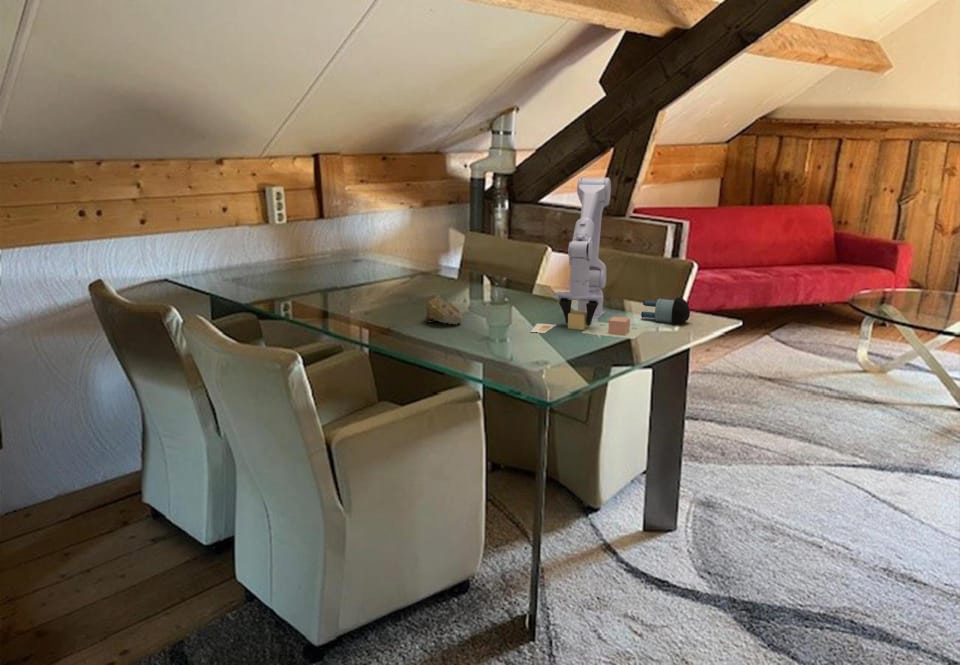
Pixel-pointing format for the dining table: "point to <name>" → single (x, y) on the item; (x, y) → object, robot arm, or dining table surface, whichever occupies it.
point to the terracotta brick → (619, 325)
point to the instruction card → (542, 328)
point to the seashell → (442, 311)
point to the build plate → (602, 329)
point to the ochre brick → (577, 320)
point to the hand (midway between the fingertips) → (578, 323)
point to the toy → (668, 311)
